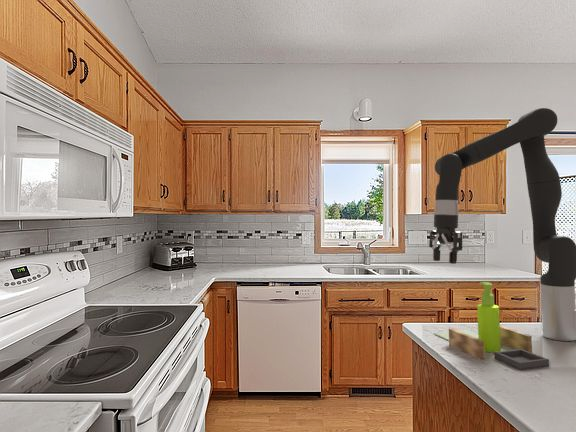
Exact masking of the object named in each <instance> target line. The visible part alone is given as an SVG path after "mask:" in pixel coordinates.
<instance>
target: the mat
mask: <svg viewBox="0 0 576 432" xmlns="http://www.w3.org/2000/svg"><path fill="white" fill-rule="evenodd" d="M457 331H460V332H462V333H465V334H467V335H470V336H472V337H475V338H477V339H478V333H476V332H473V331H471V330H469V329H459V330H457ZM433 335H435V336H437V337H440V338H442V339H444V340H446V341H448V342H449V330H448V331H438V332H434V333H433Z"/></svg>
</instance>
